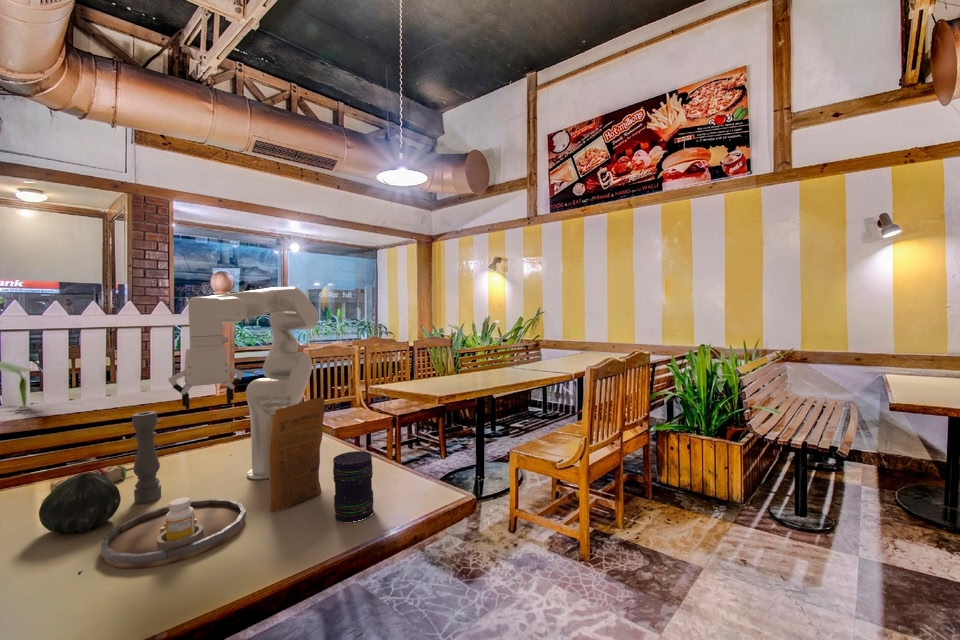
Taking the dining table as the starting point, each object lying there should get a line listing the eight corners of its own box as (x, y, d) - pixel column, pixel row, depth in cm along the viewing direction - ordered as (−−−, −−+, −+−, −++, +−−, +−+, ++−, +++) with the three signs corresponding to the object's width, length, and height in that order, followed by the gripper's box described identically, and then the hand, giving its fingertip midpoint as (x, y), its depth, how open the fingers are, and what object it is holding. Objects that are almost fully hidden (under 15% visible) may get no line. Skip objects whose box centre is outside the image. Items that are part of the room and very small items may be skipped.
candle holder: (146, 505, 123) (143, 416, 123) (128, 503, 125) (125, 415, 124) (166, 495, 129) (163, 411, 129) (149, 494, 131) (145, 410, 130)
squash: (63, 496, 117) (44, 466, 108) (132, 488, 123) (119, 459, 114) (42, 551, 108) (19, 523, 98) (118, 539, 113) (103, 512, 104)
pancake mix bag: (334, 491, 130) (331, 396, 129) (275, 517, 114) (271, 410, 113) (319, 486, 133) (316, 395, 133) (260, 512, 117) (256, 407, 117)
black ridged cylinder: (381, 508, 118) (379, 452, 117) (359, 525, 108) (357, 465, 108) (349, 503, 121) (348, 449, 121) (326, 520, 112) (324, 461, 111)
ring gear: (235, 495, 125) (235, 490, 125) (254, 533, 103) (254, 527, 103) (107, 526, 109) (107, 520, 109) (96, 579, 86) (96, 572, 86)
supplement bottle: (175, 538, 102) (174, 496, 102) (200, 536, 102) (198, 495, 102) (161, 550, 96) (159, 506, 96) (186, 549, 97) (185, 505, 97)
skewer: (56, 500, 129) (56, 483, 129) (49, 496, 132) (48, 479, 132) (140, 476, 146) (139, 461, 146) (131, 473, 150) (131, 458, 150)
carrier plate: (235, 499, 125) (235, 486, 125) (254, 538, 103) (254, 523, 103) (107, 531, 109) (106, 516, 109) (96, 585, 86) (95, 567, 86)
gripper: (240, 340, 127) (242, 399, 127) (166, 344, 116) (169, 408, 117) (244, 341, 121) (246, 403, 121) (167, 345, 110) (170, 413, 111)
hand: (208, 405), depth 119 cm, fingers open, 9 cm apart
